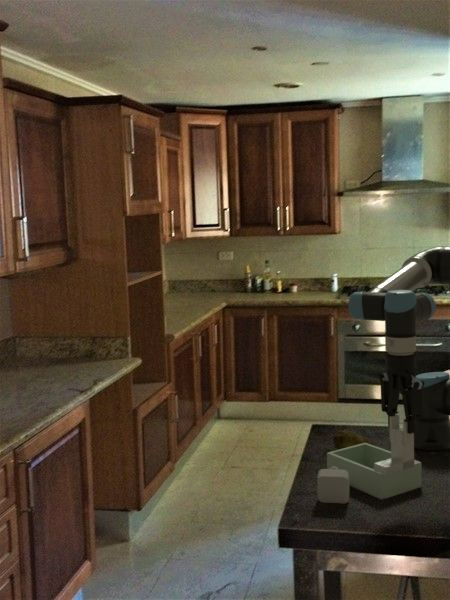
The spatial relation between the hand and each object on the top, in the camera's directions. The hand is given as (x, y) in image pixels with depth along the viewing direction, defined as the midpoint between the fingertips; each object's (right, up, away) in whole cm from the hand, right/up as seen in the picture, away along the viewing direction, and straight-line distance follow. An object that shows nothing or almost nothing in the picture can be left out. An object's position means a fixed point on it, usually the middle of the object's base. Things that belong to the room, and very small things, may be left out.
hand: (401, 442), depth 185 cm
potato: (-4, -13, +44) cm, 46 cm away
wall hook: (-15, -17, +11) cm, 25 cm away
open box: (-3, -15, +21) cm, 26 cm away
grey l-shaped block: (-2, -6, -1) cm, 7 cm away
